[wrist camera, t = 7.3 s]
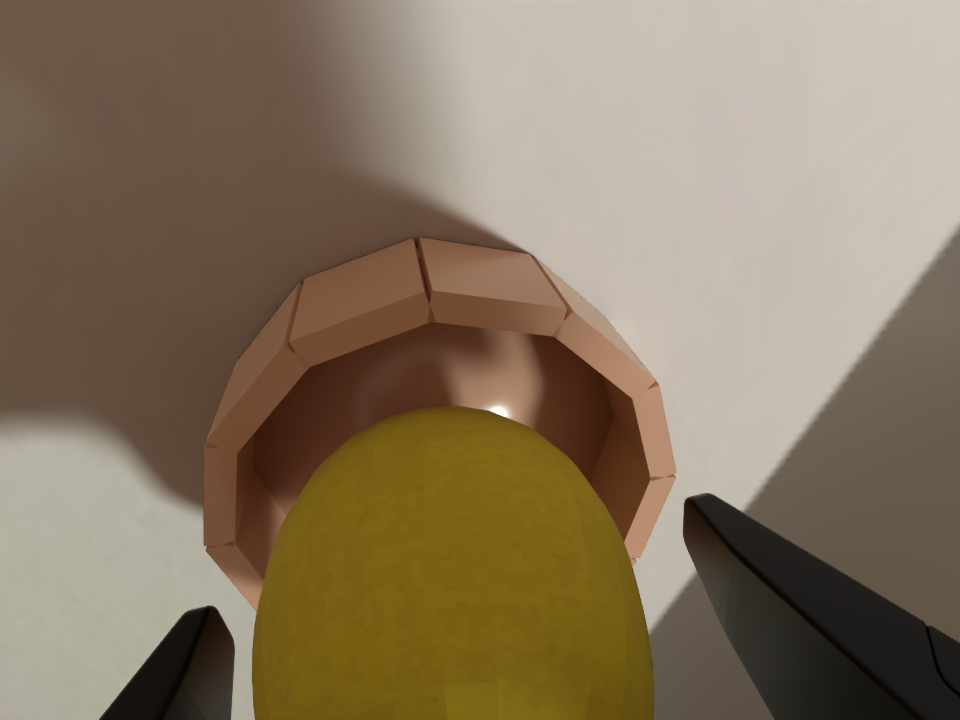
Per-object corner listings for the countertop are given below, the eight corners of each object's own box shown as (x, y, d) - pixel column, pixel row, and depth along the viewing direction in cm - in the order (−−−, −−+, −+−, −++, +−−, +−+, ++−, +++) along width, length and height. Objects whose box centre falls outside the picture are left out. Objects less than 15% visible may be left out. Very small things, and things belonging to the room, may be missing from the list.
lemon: (240, 413, 12) (7, 994, 5) (494, 275, 11) (665, 727, 4) (392, 577, 14) (388, 1100, 7) (605, 476, 14) (824, 954, 7)
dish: (565, 570, 16) (596, 656, 14) (229, 563, 14) (203, 662, 12) (675, 276, 12) (741, 331, 10) (237, 209, 10) (203, 259, 8)
